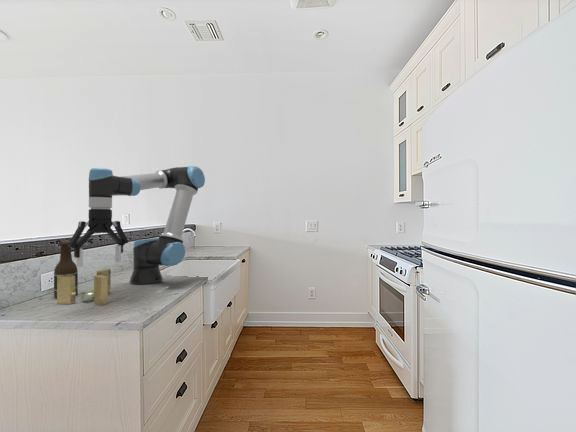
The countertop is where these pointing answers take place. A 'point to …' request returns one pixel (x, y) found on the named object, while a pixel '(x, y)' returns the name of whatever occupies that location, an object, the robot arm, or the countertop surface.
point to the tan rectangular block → (65, 289)
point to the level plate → (87, 296)
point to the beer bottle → (65, 267)
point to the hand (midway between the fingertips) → (99, 263)
